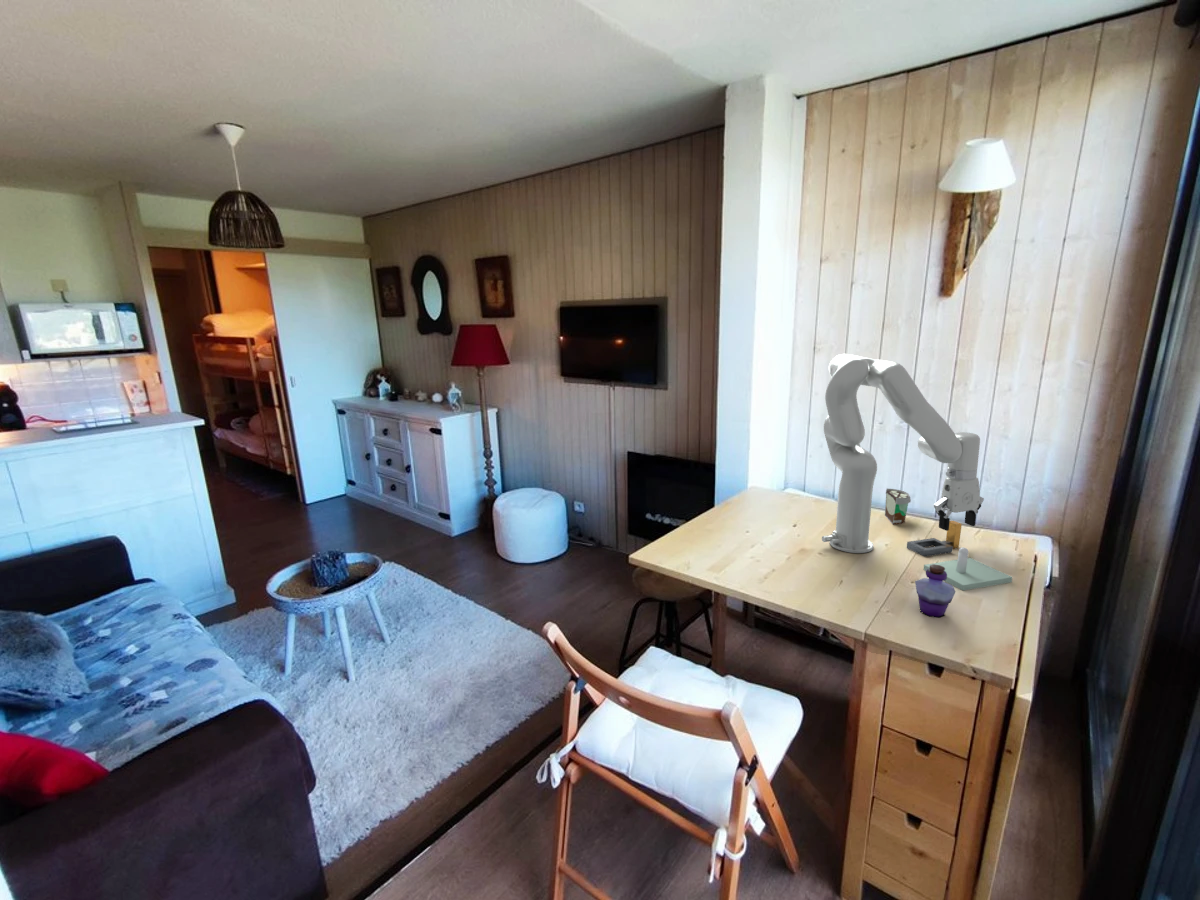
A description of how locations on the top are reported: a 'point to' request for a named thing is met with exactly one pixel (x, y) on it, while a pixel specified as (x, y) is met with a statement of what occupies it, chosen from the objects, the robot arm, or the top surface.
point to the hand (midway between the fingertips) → (956, 526)
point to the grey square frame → (938, 542)
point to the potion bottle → (934, 592)
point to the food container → (896, 506)
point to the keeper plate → (970, 572)
